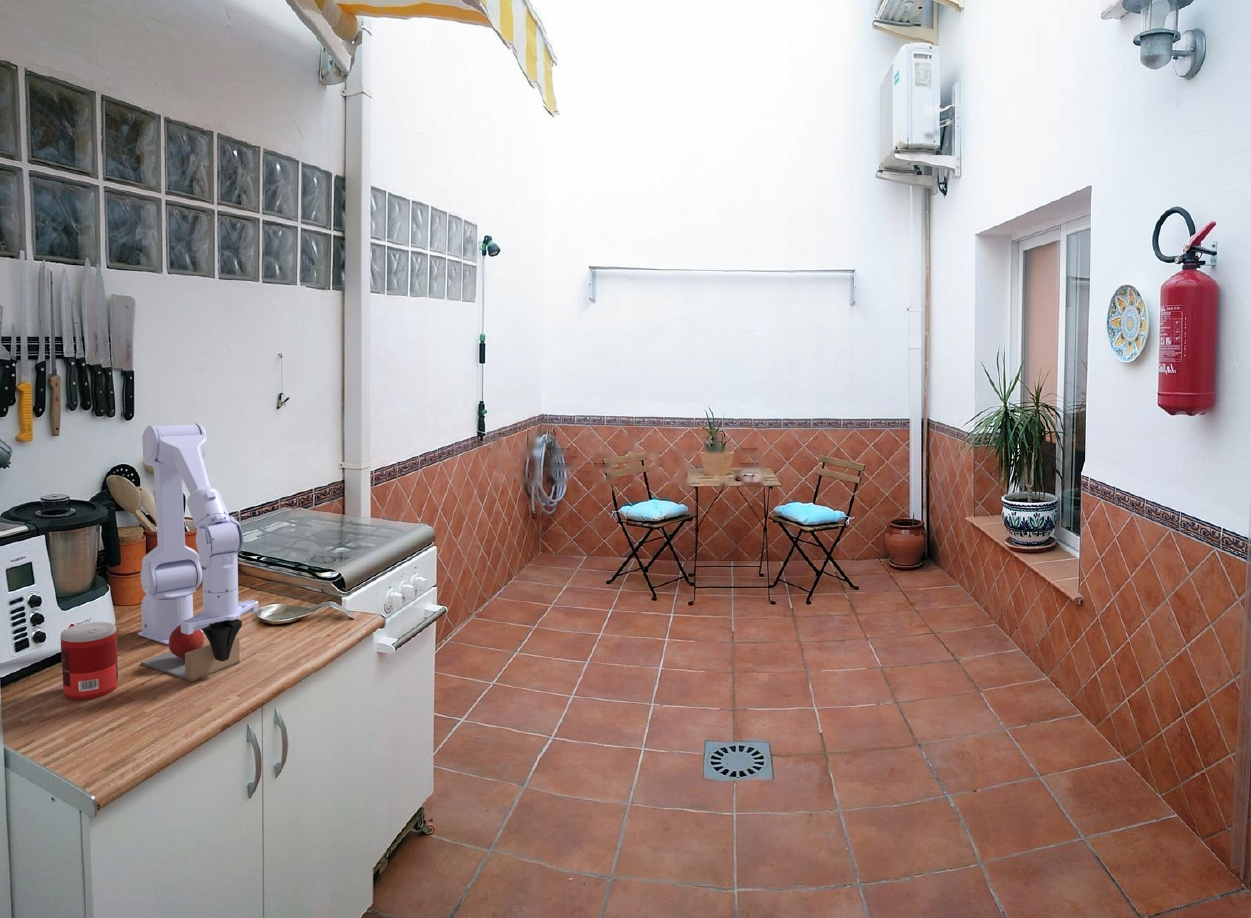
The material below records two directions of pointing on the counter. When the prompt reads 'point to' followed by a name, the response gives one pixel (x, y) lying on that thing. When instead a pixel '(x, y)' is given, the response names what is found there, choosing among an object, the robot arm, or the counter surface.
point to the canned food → (89, 660)
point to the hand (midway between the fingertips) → (221, 659)
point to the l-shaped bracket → (194, 662)
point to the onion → (184, 642)
